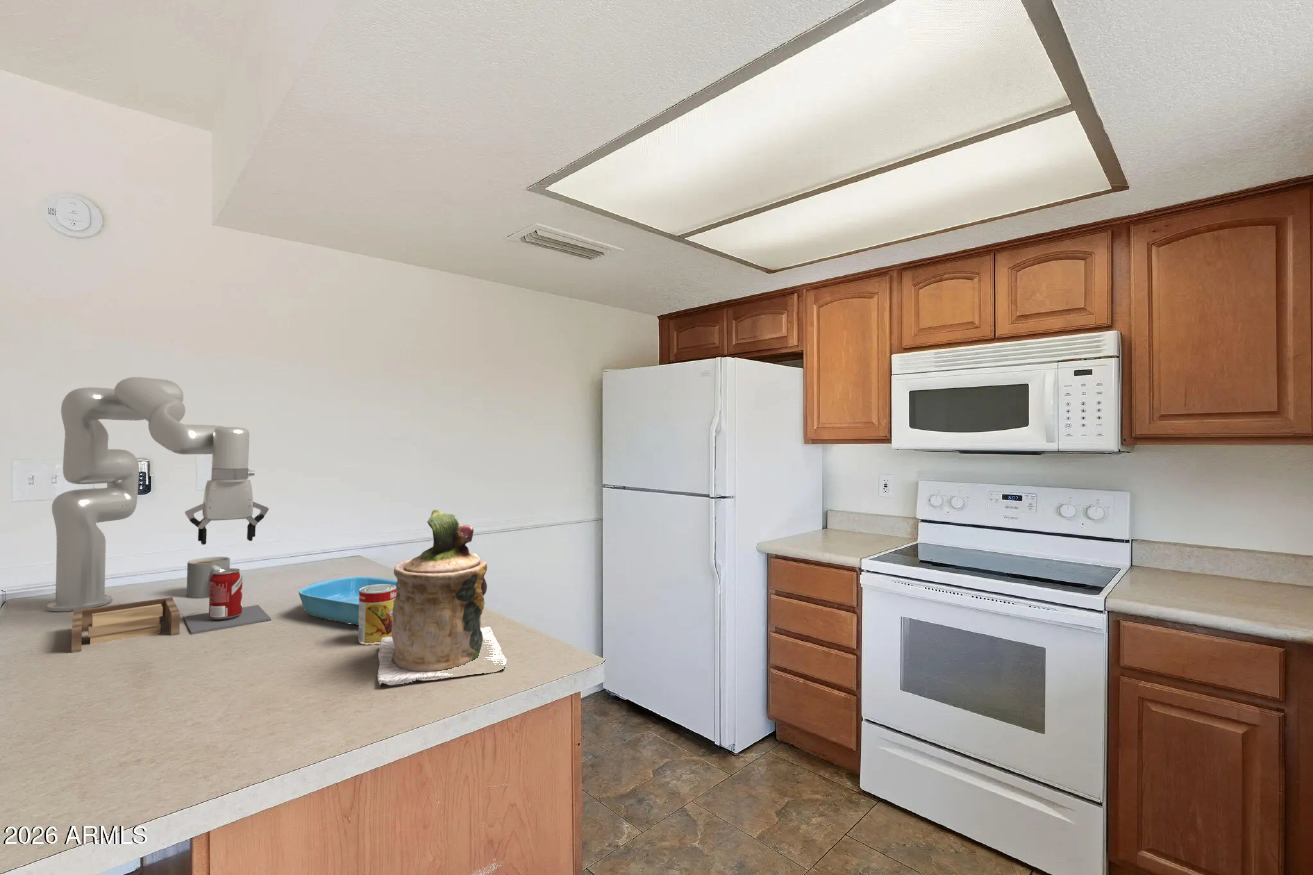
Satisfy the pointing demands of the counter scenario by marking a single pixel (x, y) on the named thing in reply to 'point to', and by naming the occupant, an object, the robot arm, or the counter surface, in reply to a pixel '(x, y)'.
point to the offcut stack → (125, 623)
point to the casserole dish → (338, 597)
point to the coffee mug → (203, 574)
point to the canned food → (376, 612)
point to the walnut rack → (85, 615)
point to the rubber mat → (205, 624)
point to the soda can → (225, 594)
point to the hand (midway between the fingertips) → (227, 541)
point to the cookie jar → (437, 609)
